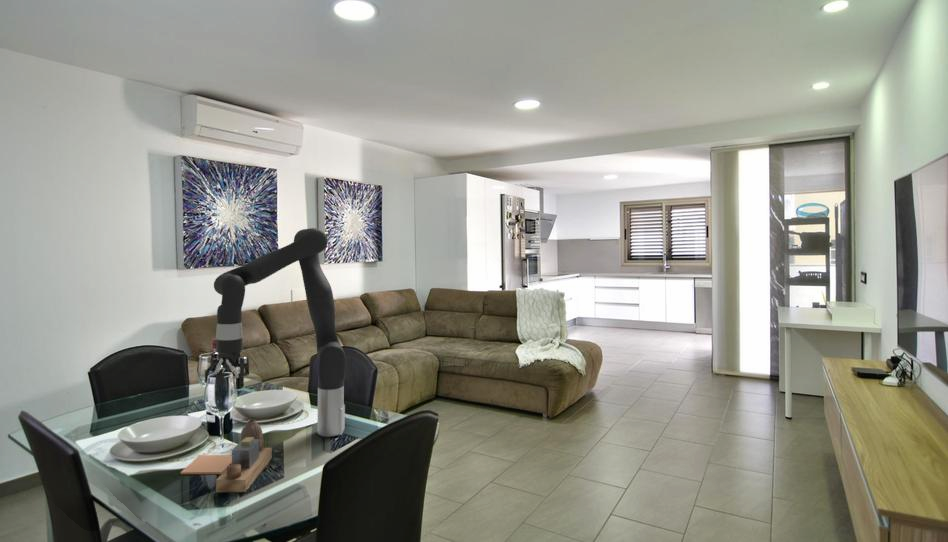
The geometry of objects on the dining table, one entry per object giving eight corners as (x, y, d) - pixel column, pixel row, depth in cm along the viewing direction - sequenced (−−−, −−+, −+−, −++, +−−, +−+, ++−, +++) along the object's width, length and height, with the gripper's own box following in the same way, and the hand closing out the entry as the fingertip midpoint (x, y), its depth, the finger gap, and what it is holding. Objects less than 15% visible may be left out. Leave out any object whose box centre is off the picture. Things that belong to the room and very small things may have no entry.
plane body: (271, 458, 163) (271, 438, 162) (245, 492, 141) (245, 469, 141) (246, 458, 162) (246, 438, 162) (216, 492, 140) (215, 469, 140)
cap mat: (237, 456, 163) (237, 455, 163) (221, 474, 151) (221, 472, 151) (199, 457, 162) (199, 455, 162) (180, 474, 150) (180, 472, 150)
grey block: (259, 456, 156) (259, 436, 155) (249, 468, 148) (249, 446, 147) (242, 456, 155) (242, 436, 155) (231, 468, 147) (231, 446, 147)
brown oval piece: (244, 441, 175) (244, 417, 175) (265, 441, 176) (265, 417, 175) (237, 450, 168) (237, 424, 168) (258, 449, 169) (258, 424, 168)
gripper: (255, 337, 161) (255, 387, 162) (223, 332, 166) (223, 381, 167) (236, 341, 154) (236, 393, 155) (203, 336, 159) (203, 387, 160)
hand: (229, 387), depth 161 cm, fingers open, 8 cm apart
